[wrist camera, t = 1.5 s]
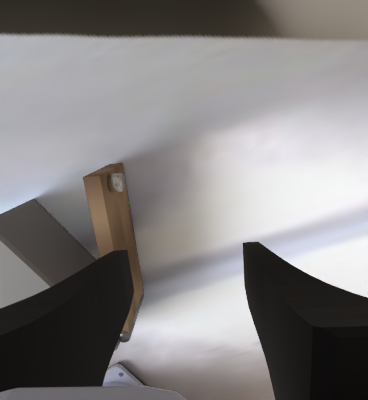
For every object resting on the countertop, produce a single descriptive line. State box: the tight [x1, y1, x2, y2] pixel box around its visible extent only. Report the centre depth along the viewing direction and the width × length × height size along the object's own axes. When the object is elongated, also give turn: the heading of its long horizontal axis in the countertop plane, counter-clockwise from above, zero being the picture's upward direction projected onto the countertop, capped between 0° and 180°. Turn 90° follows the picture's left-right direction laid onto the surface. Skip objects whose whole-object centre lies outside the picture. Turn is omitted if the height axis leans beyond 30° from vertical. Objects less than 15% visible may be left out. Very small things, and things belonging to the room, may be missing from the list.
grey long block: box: [0, 199, 120, 351], centre depth 21 cm, size 12×5×5 cm, turn 41°
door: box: [83, 163, 144, 342], centre depth 20 cm, size 12×2×5 cm, turn 6°
